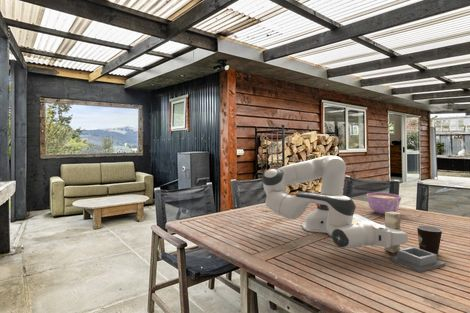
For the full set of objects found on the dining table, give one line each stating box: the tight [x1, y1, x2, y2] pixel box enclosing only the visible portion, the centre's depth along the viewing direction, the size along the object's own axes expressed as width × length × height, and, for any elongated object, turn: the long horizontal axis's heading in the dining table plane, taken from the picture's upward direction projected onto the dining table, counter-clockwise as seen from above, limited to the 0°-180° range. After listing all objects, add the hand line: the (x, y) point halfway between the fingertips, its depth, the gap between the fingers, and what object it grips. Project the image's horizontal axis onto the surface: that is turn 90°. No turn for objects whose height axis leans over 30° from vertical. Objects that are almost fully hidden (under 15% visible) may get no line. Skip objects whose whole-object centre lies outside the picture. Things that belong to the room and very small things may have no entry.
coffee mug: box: [416, 224, 443, 256], centre depth 118 cm, size 12×9×10 cm
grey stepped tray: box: [388, 246, 446, 273], centre depth 107 cm, size 14×12×4 cm
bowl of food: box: [366, 192, 402, 215], centre depth 183 cm, size 20×20×12 cm
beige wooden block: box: [383, 211, 401, 254], centre depth 118 cm, size 4×4×16 cm
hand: (393, 229), depth 118 cm, fingers closed on beige wooden block, 4 cm apart
